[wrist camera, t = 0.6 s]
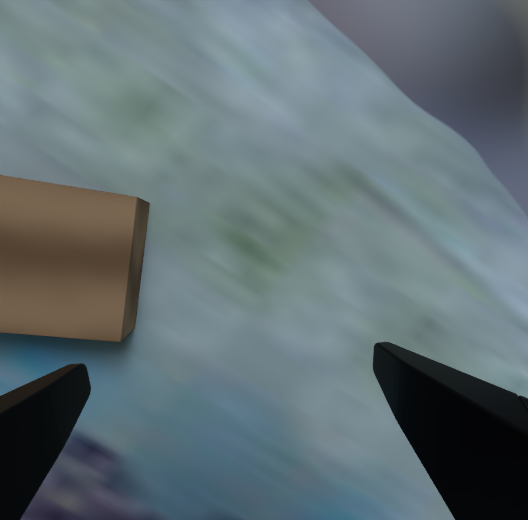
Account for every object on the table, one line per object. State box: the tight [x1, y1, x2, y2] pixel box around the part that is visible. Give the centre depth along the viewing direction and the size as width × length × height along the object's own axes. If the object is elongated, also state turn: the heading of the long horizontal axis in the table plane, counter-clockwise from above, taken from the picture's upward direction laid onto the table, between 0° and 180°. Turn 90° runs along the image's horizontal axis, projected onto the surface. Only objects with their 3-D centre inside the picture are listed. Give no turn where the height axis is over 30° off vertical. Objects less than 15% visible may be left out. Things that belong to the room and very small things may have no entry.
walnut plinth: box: [0, 175, 150, 342], centre depth 19 cm, size 10×10×3 cm
